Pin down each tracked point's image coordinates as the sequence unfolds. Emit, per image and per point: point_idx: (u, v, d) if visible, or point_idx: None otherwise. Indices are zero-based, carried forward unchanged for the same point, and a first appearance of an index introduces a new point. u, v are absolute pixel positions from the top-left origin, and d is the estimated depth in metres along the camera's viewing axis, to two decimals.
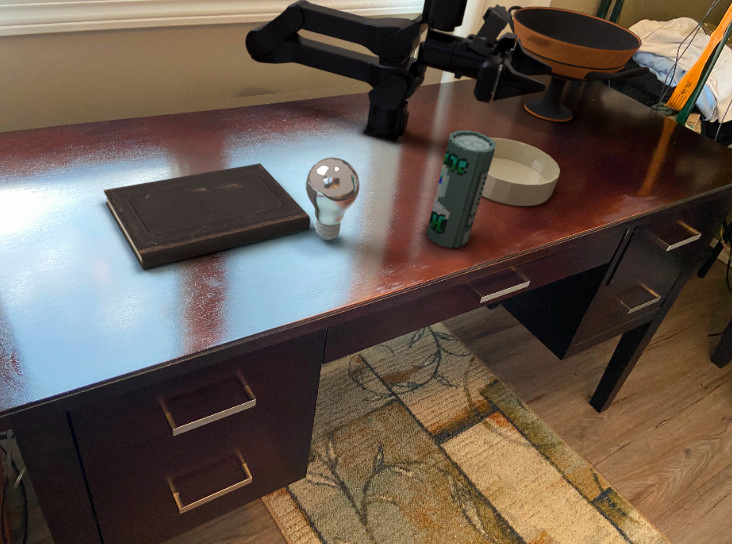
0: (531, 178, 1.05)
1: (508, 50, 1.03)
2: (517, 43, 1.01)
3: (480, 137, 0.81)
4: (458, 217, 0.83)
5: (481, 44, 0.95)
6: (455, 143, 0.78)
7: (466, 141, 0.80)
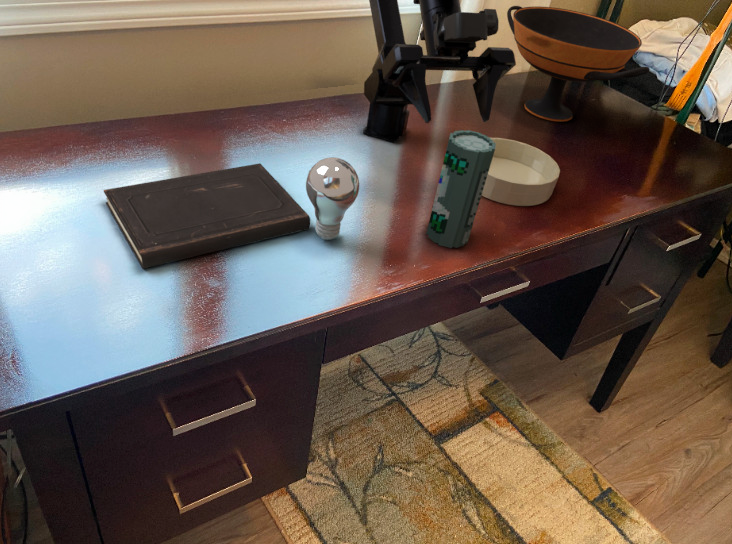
0: (531, 178, 1.05)
1: (490, 65, 0.88)
2: (491, 67, 0.86)
3: (480, 137, 0.81)
4: (458, 217, 0.83)
5: (439, 30, 0.83)
6: (455, 143, 0.78)
7: (466, 141, 0.80)
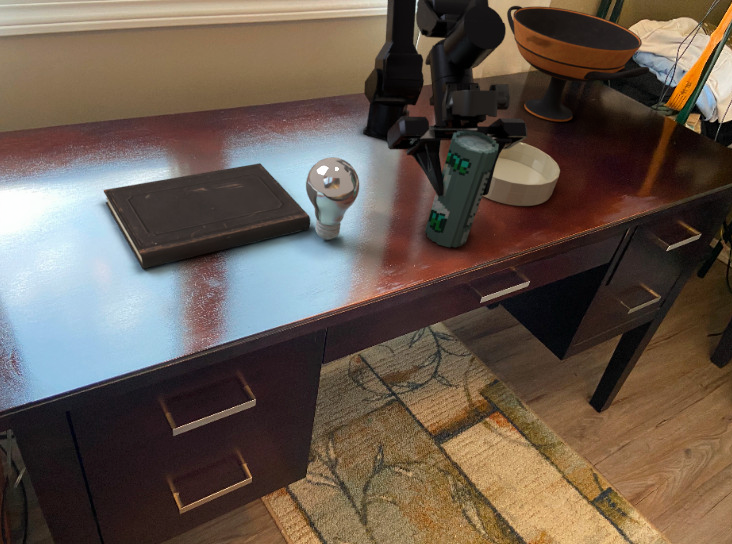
0: (531, 178, 1.05)
1: (500, 136, 0.84)
2: None
3: (483, 138, 0.81)
4: (458, 217, 0.83)
5: (447, 102, 0.80)
6: (458, 143, 0.78)
7: (469, 141, 0.80)
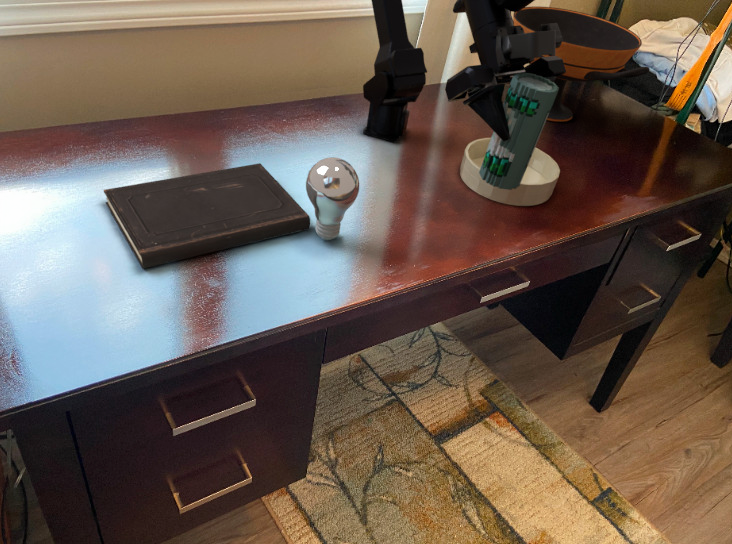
0: (531, 178, 1.05)
1: (541, 75, 0.88)
2: None
3: (536, 78, 0.84)
4: (522, 158, 0.87)
5: (503, 47, 0.82)
6: (526, 85, 0.81)
7: (529, 83, 0.83)
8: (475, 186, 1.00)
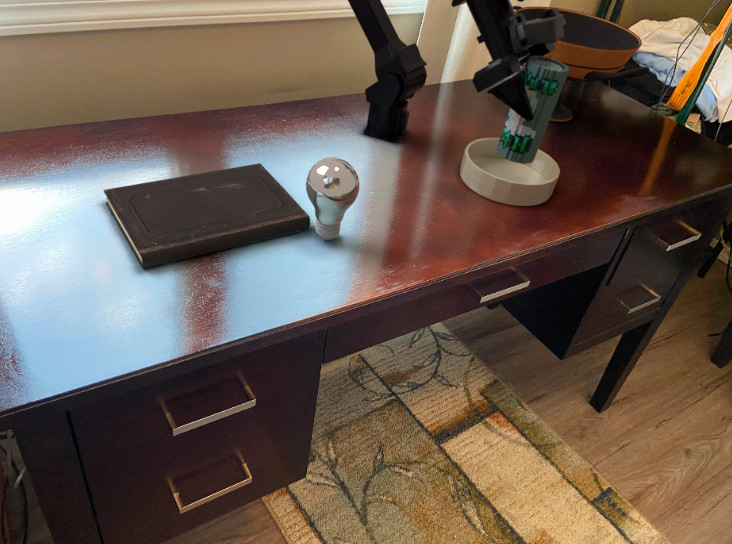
0: (531, 178, 1.05)
1: (537, 55, 0.97)
2: None
3: (543, 59, 0.93)
4: (541, 133, 0.95)
5: (519, 36, 0.88)
6: (547, 68, 0.89)
7: (542, 65, 0.91)
8: (475, 186, 1.00)
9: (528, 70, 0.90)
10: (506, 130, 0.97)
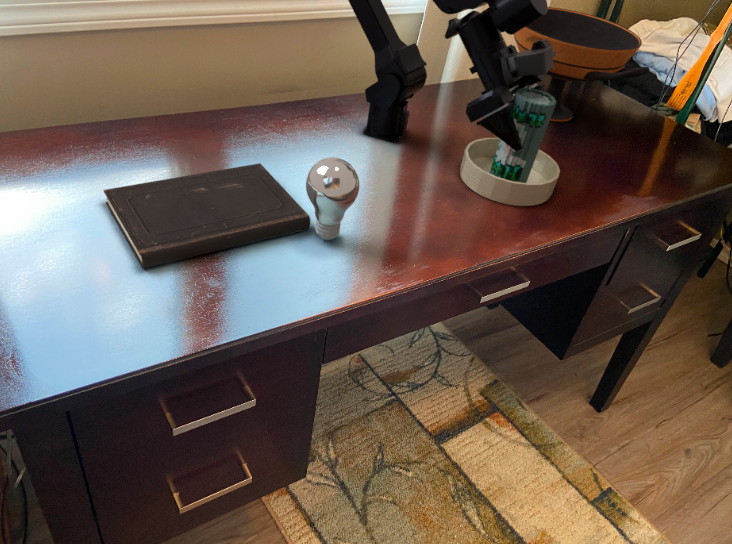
0: (531, 178, 1.05)
1: (528, 83, 1.00)
2: (538, 87, 0.98)
3: (531, 91, 0.95)
4: (531, 162, 0.98)
5: (510, 67, 0.91)
6: (534, 103, 0.91)
7: (530, 98, 0.94)
8: (475, 186, 1.00)
9: (516, 104, 0.93)
10: (497, 159, 1.00)
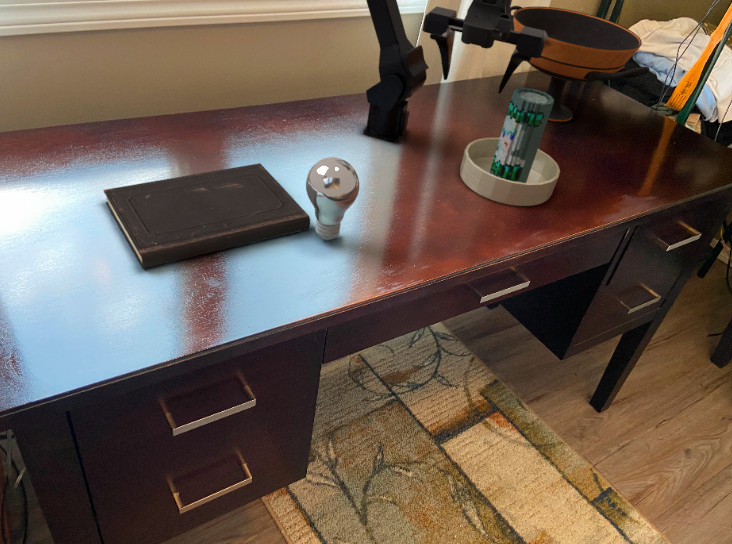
0: (531, 178, 1.05)
1: None
2: (511, 56, 0.93)
3: (528, 91, 0.96)
4: (530, 162, 0.99)
5: None
6: (531, 102, 0.92)
7: (528, 98, 0.94)
8: (475, 186, 1.00)
9: (514, 103, 0.94)
10: (496, 160, 1.00)
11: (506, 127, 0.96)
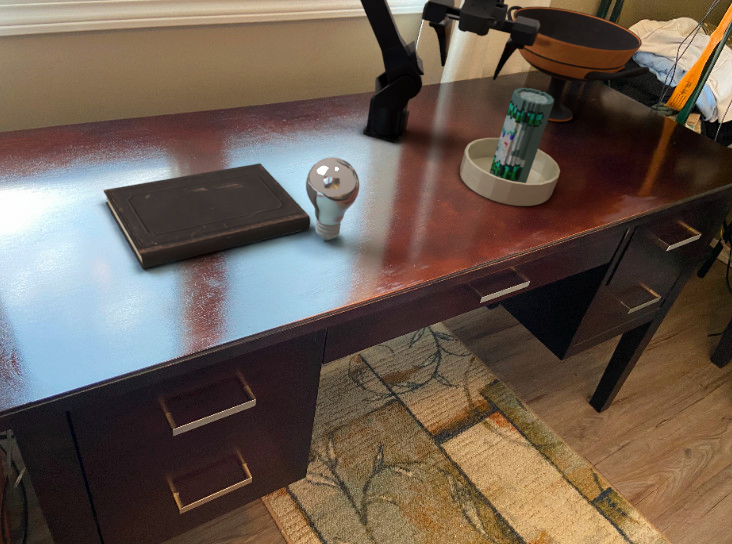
0: (531, 178, 1.05)
1: None
2: (505, 44, 0.98)
3: (528, 91, 0.96)
4: (530, 162, 0.99)
5: None
6: (531, 102, 0.92)
7: (528, 98, 0.94)
8: (475, 186, 1.00)
9: (514, 103, 0.94)
10: (496, 160, 1.00)
11: (506, 127, 0.96)
